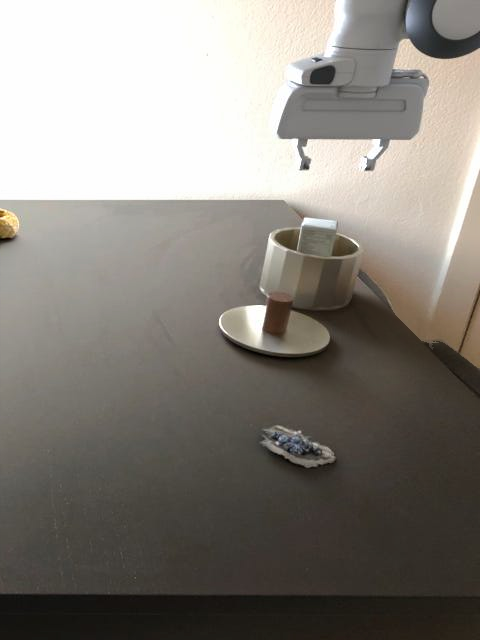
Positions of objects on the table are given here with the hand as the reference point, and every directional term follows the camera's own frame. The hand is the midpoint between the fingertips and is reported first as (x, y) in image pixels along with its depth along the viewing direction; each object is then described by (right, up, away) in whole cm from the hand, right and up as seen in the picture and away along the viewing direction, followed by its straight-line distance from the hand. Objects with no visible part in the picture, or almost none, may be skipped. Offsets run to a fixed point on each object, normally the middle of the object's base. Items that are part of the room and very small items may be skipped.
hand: (333, 169), depth 108 cm
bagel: (-50, -4, +32) cm, 60 cm away
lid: (-10, -24, -4) cm, 26 cm away
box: (0, -17, +9) cm, 19 cm away
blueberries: (-16, -38, -27) cm, 49 cm away
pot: (0, -17, +10) cm, 20 cm away
